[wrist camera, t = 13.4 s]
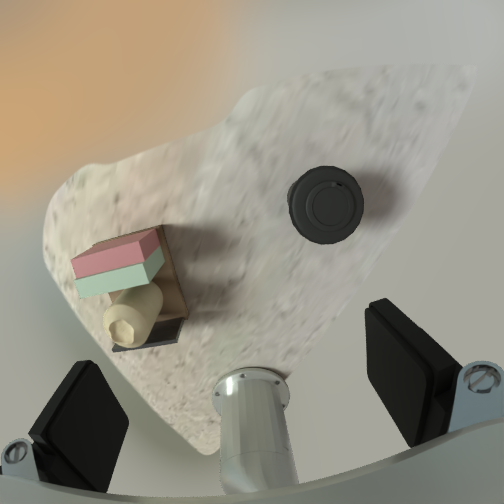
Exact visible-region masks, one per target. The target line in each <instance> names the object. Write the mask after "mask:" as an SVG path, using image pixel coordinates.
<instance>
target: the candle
mask: <svg viewBox="0 0 504 504" xmlns="http://www.w3.org/2000/svg"><path fill="white" fill-rule="evenodd" d="M162 306H163V294H162V291H161V289H160V288H159V287H158V285H157V284H155V283H154V282H152V281H150V283H149V284H144V285H140V286H135V287H131V288H126V289H124V290H123V291H122V293H121V294H120V295H119V296H118V297H117V299H116V300H115V301H114V302H113V303H112V305H111V306H110V307H109V308H108V309H107V311H106V312H105V314H104V317H103V326H104V329H105V331H106V333H107V335H108V336H109V337H110V339H111V340H112V341H114V342H115V343H116V344H118V345H120V346H123V347H126V348H136V347H139V346H141V345H142V344H144V343H145V341H146V340H147V338H148V336H149V334H150V332H151V329H152V327H153V325H154V323H155V321H156V319H157V317H158V315H159V313H160V311H161V308H162Z"/></svg>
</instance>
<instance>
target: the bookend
mask: <svg viewBox="0 0 504 504" xmlns="http://www.w3.org/2000/svg"><path fill="white" fill-rule="evenodd" d="M183 322H184V318H183V317H179V318H174V319H169V320H164V321H158V322H155V323H154V325H153V327H152V329H151V332H150V334H149V336H148V338H147V340H146V341H145V343H144V344H142V345H141V346H139V347H136V348H126V347H123V346H120V345H118V344H116V343H115V345H114V346H113V348H112V351H113V352H121V351H128V350H135V349H142V348H148V347H155V346H161V345H167V344H173V343H177V342H178V338H179V335H180V332H181V328H182V325H183Z"/></svg>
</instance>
